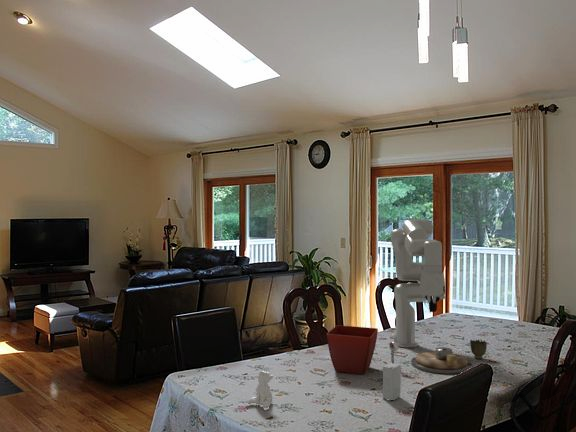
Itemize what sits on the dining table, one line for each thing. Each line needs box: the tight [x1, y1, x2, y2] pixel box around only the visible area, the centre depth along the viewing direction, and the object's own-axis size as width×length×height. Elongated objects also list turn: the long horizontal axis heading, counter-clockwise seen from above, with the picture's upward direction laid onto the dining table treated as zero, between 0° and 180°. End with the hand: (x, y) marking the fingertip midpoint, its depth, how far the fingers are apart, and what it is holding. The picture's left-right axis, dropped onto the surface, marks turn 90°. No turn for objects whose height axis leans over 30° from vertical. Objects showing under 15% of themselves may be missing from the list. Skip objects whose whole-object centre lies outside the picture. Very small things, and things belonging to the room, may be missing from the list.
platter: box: [415, 351, 468, 369], centre depth 232 cm, size 22×22×6 cm
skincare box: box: [382, 362, 402, 401], centre depth 191 cm, size 6×4×12 cm
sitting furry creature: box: [245, 370, 274, 409], centre depth 185 cm, size 10×9×12 cm
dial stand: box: [388, 341, 400, 364], centre depth 228 cm, size 6×5×12 cm
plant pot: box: [326, 324, 379, 375], centre depth 226 cm, size 19×19×17 cm
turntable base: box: [410, 356, 473, 375], centre depth 232 cm, size 26×26×1 cm
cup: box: [469, 339, 488, 360], centre depth 243 cm, size 8×7×8 cm
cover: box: [435, 346, 453, 360], centre depth 232 cm, size 7×7×4 cm
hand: (432, 311), depth 226 cm, fingers closed
